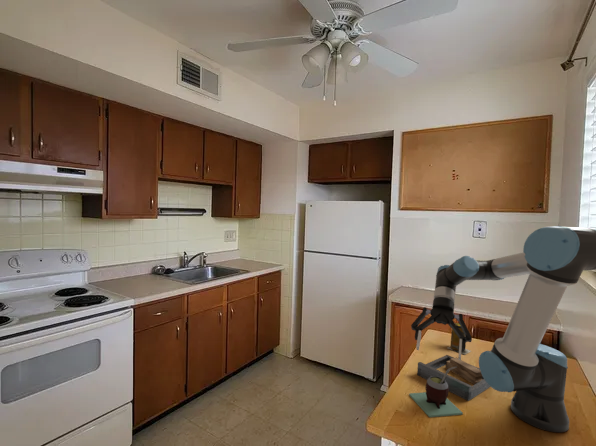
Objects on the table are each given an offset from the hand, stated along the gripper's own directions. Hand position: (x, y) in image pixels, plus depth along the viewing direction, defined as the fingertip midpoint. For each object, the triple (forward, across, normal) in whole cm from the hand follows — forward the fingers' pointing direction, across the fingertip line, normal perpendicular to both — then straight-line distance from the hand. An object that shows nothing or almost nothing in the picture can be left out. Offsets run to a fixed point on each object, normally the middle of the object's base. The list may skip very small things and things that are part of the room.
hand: (437, 353), depth 112 cm
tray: (-1, -6, -23) cm, 24 cm away
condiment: (-23, -6, -46) cm, 52 cm away
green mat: (+15, 0, -7) cm, 16 cm away
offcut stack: (-5, -9, -27) cm, 29 cm away
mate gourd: (+14, -1, -7) cm, 16 cm away
